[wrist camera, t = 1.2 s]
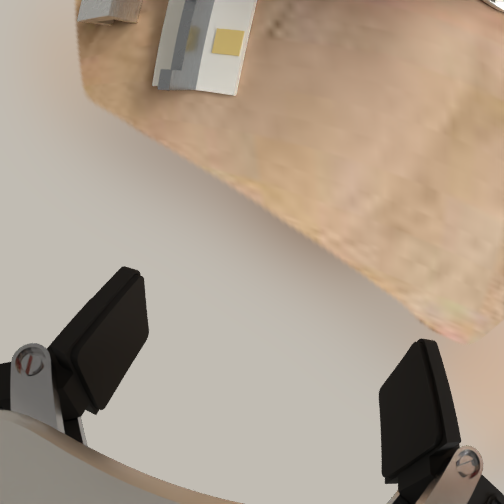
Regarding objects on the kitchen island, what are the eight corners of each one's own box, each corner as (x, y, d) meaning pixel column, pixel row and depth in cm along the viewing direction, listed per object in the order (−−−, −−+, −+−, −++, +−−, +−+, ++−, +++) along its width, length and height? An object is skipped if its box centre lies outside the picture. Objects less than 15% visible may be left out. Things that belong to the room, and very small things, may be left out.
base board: (185, -42, 21) (181, -45, 20) (268, -41, 20) (266, -45, 19) (156, 85, 30) (151, 85, 29) (236, 95, 29) (233, 95, 28)
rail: (217, -47, 20) (196, -69, 14) (227, -47, 19) (208, -70, 14) (185, 88, 29) (157, 89, 23) (195, 89, 29) (168, 90, 23)
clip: (114, -7, 24) (85, -15, 19) (145, -11, 23) (118, -23, 18) (106, 25, 26) (76, 21, 21) (137, 22, 26) (108, 15, 21)
